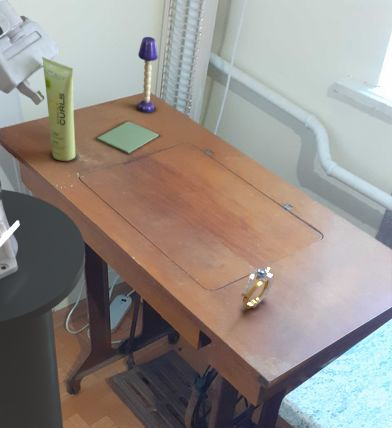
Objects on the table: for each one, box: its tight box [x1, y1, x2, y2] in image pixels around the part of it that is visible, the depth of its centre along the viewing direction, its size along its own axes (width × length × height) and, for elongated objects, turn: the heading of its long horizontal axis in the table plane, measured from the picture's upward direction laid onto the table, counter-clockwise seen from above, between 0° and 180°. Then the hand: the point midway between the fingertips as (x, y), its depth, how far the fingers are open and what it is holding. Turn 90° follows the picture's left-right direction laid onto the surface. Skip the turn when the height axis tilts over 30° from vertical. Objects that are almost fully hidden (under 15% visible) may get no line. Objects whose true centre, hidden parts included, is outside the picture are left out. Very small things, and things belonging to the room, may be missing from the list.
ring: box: [240, 267, 275, 310], centre depth 91 cm, size 7×3×8 cm, turn 131°
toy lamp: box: [137, 36, 159, 114], centre depth 132 cm, size 5×5×17 cm
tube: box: [42, 57, 76, 162], centre depth 111 cm, size 6×5×20 cm
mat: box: [97, 120, 159, 154], centre depth 127 cm, size 12×9×1 cm
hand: (51, 93), depth 109 cm, fingers open, 8 cm apart
